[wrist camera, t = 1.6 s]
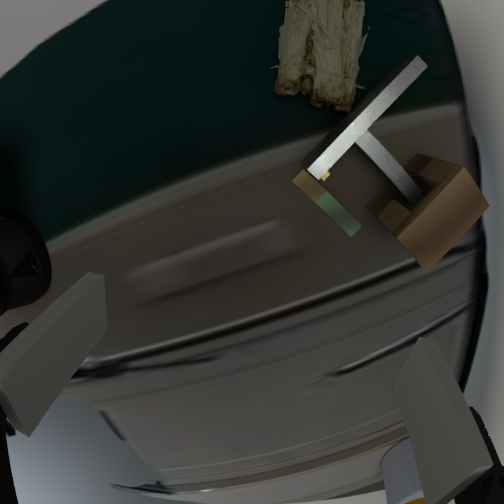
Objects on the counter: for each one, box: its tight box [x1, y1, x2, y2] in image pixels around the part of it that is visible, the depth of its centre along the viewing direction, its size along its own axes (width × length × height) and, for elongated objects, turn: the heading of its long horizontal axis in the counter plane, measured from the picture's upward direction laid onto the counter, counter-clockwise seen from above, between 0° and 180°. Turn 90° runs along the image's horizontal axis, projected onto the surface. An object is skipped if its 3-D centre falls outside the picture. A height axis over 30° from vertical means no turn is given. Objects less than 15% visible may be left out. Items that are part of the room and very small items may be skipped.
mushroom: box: [272, 0, 370, 113], centre depth 25 cm, size 14×10×5 cm, turn 173°
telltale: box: [321, 171, 330, 181], centre depth 30 cm, size 2×1×4 cm, turn 49°
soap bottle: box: [381, 438, 425, 504], centre depth 40 cm, size 13×8×20 cm, turn 171°
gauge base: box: [292, 154, 489, 273], centre depth 27 cm, size 12×12×10 cm
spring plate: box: [303, 56, 427, 206], centre depth 26 cm, size 10×14×7 cm
